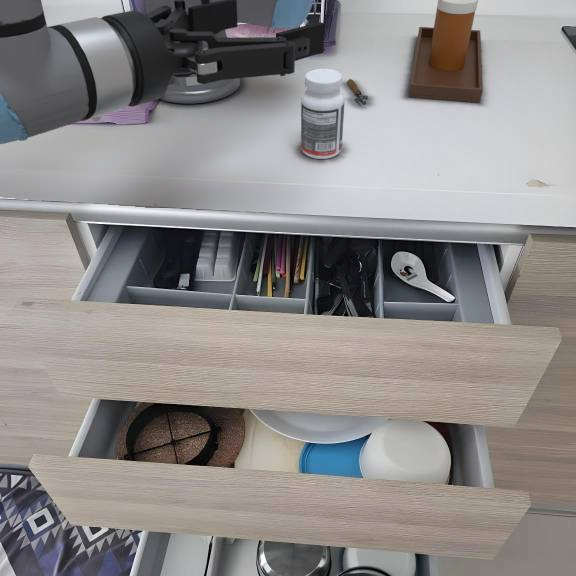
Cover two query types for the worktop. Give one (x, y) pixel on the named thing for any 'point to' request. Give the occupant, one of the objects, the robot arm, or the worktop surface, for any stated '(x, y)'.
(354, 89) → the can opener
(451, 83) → the tray
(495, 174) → the worktop surface
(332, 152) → the pill bottle
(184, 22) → the robot arm
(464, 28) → the amber bottle middle
